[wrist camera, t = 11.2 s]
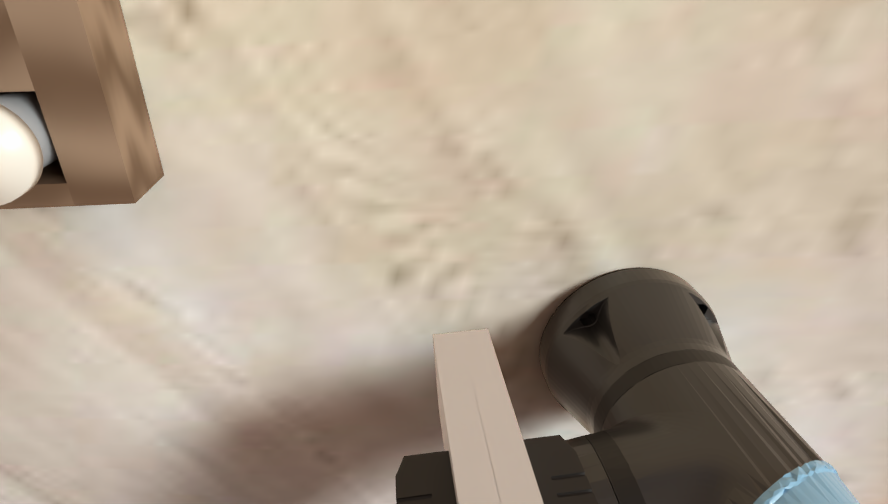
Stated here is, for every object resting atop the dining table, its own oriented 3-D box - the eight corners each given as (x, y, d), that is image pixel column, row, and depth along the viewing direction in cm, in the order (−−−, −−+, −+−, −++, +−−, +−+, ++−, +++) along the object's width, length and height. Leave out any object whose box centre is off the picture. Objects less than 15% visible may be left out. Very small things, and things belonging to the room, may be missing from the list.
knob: (104, 163, 35) (46, 204, 29) (11, 166, 34) (-68, 209, 28) (76, 73, 32) (7, 97, 26) (-24, 75, 32) (-120, 101, 26)
